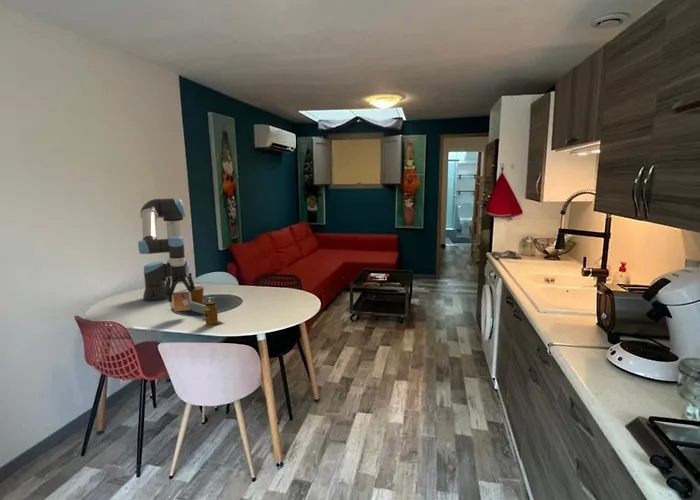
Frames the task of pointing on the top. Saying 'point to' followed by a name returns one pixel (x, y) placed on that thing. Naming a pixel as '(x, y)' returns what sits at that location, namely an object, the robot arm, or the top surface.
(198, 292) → the disposable coffee cup
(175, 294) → the small box
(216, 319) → the condiment
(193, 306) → the door
